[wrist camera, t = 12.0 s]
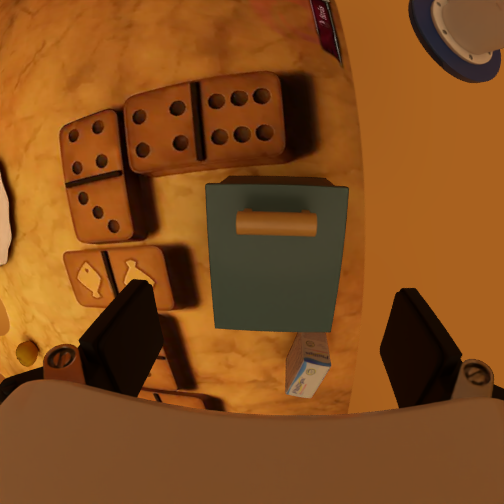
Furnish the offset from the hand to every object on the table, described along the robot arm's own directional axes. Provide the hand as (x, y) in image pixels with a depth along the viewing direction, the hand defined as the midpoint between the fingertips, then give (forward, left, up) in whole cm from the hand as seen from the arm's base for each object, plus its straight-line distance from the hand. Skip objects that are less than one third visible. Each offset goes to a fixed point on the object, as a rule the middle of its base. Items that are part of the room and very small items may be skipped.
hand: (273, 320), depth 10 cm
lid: (+5, 0, -16) cm, 17 cm away
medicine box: (+26, +6, -28) cm, 39 cm away
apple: (+39, -63, -28) cm, 80 cm away
